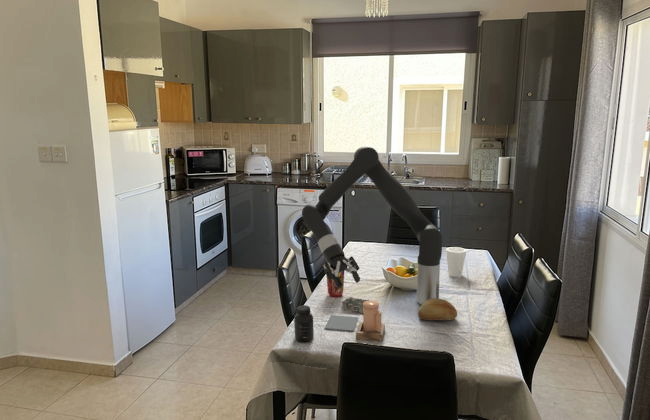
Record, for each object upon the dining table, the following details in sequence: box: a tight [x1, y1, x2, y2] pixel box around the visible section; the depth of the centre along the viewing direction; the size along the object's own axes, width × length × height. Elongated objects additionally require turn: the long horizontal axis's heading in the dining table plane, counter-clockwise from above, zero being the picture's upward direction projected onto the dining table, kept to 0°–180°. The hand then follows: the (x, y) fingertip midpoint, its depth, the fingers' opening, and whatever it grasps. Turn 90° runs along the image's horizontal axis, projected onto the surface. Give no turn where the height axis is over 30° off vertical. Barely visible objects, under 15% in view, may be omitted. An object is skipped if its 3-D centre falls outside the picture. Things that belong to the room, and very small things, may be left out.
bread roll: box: [417, 298, 458, 321], centre depth 186 cm, size 10×15×8 cm, turn 85°
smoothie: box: [326, 267, 345, 299], centre depth 210 cm, size 8×8×20 cm
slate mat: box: [324, 314, 359, 333], centre depth 183 cm, size 11×12×1 cm
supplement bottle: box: [293, 304, 315, 344], centre depth 170 cm, size 7×7×12 cm
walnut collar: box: [355, 321, 386, 342], centre depth 174 cm, size 9×9×2 cm
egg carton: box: [341, 296, 370, 313], centre depth 198 cm, size 11×8×4 cm
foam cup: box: [445, 246, 467, 278], centre depth 235 cm, size 10×9×13 cm
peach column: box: [362, 299, 382, 333], centre depth 172 cm, size 8×6×12 cm
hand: (349, 284), depth 180 cm, fingers open, 8 cm apart
